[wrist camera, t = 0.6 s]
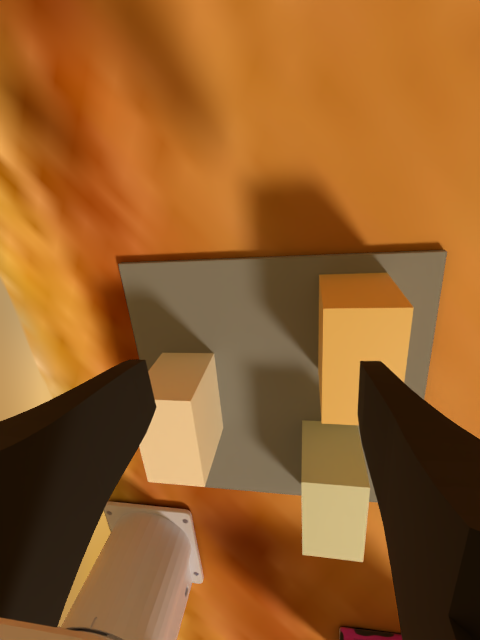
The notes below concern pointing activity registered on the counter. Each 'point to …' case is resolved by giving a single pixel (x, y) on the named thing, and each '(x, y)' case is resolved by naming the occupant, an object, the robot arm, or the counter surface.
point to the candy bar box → (366, 634)
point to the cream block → (183, 419)
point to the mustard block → (358, 337)
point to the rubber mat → (267, 344)
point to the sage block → (333, 491)
